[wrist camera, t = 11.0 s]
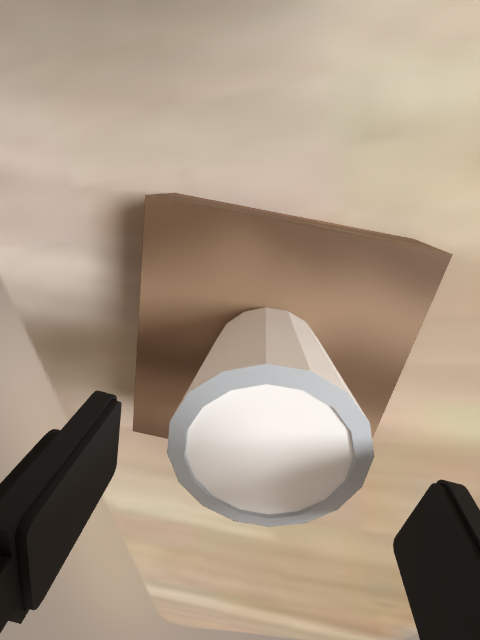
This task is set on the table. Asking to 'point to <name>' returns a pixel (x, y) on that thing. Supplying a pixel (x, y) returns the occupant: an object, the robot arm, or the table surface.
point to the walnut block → (274, 295)
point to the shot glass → (269, 426)
